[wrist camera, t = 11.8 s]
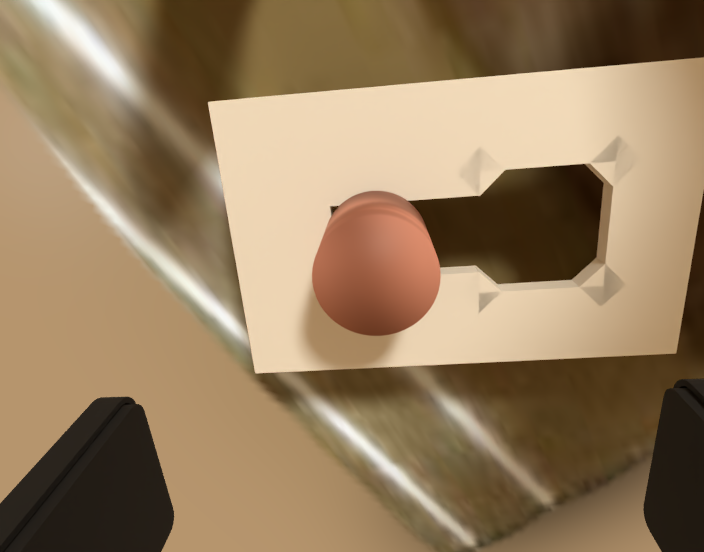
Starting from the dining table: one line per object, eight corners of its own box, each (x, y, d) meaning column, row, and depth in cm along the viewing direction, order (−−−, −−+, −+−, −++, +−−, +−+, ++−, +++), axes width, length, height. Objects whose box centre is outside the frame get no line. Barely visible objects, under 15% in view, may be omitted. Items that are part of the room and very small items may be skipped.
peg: (416, 168, 28) (439, 210, 18) (419, 250, 30) (441, 332, 20) (330, 174, 29) (304, 220, 18) (338, 255, 30) (319, 339, 20)
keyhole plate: (635, 65, 27) (726, 55, 20) (610, 296, 32) (676, 353, 25) (249, 99, 29) (207, 101, 22) (280, 314, 34) (255, 373, 26)
